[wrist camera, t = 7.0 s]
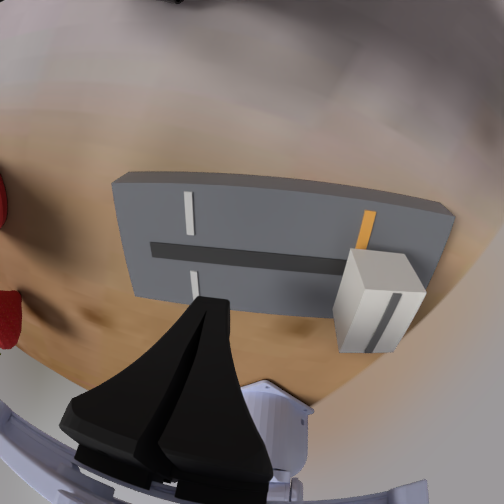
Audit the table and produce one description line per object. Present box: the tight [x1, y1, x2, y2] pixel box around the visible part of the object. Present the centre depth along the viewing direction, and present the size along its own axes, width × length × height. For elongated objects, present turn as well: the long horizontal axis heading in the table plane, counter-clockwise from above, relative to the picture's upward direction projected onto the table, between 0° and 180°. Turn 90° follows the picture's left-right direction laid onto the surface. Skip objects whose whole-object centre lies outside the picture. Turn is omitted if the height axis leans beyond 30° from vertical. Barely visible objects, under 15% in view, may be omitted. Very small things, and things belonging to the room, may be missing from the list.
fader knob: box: [332, 248, 427, 353], centre depth 13 cm, size 3×4×4 cm
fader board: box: [111, 172, 455, 318], centre depth 16 cm, size 19×8×2 cm, turn 87°
